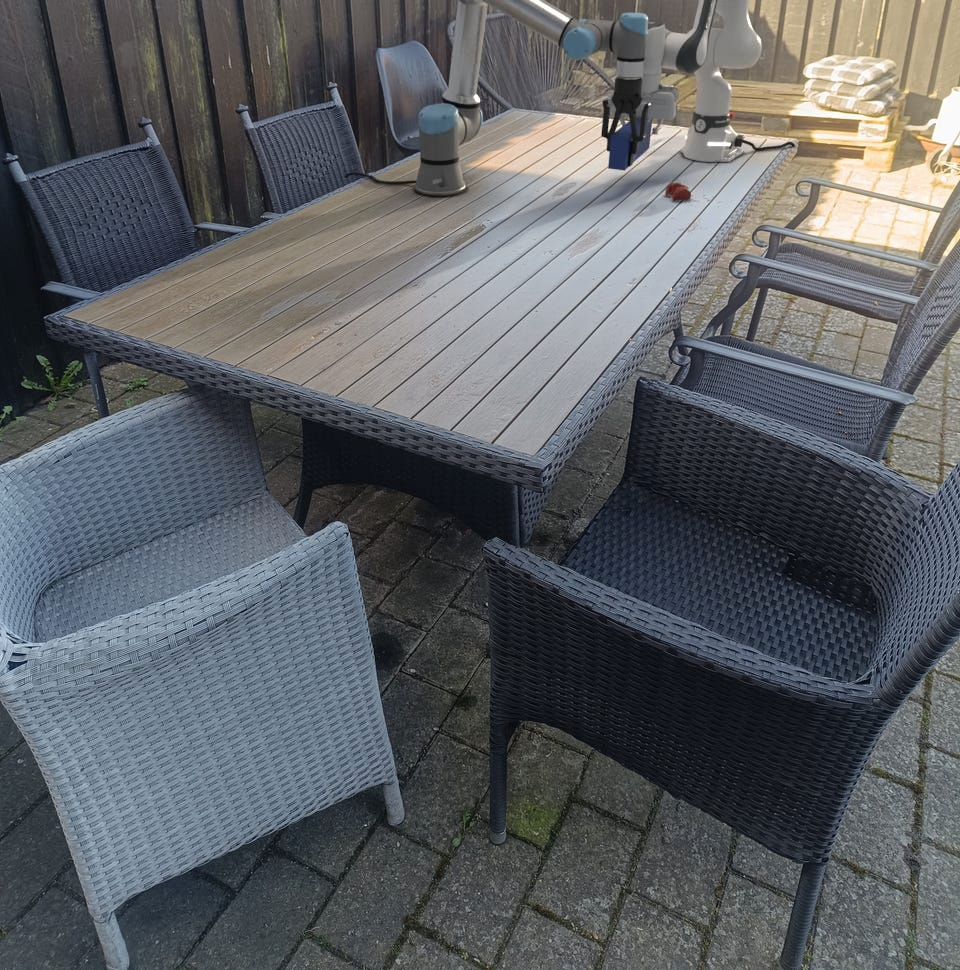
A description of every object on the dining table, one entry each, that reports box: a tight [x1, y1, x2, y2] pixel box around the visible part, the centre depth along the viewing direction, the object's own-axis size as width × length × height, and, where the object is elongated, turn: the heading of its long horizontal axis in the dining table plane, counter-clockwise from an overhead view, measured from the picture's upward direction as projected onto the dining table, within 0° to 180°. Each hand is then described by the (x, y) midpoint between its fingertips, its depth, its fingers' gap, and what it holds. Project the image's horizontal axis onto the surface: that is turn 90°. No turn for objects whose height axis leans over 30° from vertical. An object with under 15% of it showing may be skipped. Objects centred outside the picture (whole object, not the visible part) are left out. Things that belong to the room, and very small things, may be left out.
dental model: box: [665, 181, 692, 202], centre depth 251 cm, size 6×4×8 cm
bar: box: [607, 117, 653, 171], centre depth 251 cm, size 28×5×9 cm, turn 156°
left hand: (620, 164), depth 246 cm, fingers closed on bar, 5 cm apart
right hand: (639, 132), depth 258 cm, fingers open, 8 cm apart
